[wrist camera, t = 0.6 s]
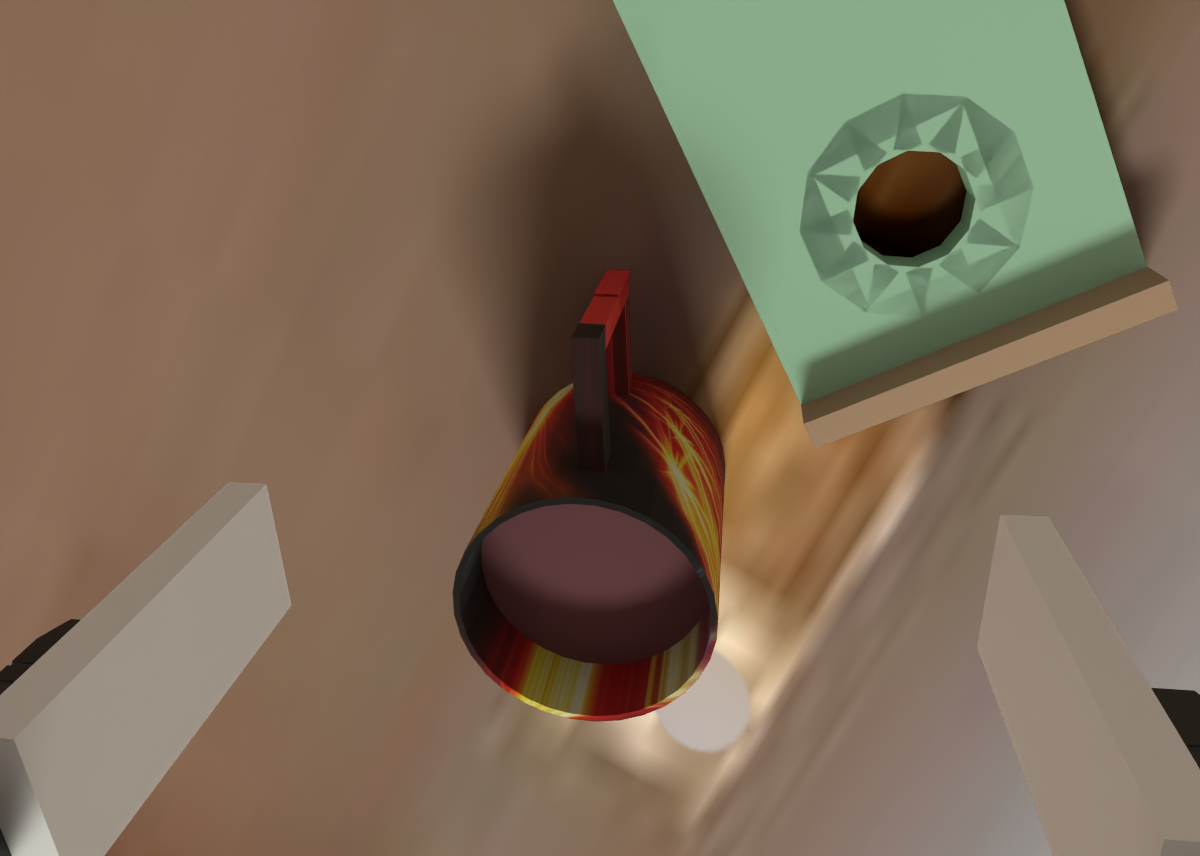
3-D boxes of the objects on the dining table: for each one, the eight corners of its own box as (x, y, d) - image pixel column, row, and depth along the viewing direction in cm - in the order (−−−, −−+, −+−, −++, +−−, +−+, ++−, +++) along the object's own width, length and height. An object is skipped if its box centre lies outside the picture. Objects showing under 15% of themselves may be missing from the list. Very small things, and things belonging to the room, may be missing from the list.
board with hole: (503, -247, 33) (476, -276, 29) (886, -518, 28) (904, -587, 25) (809, 413, 41) (815, 448, 38) (1139, 283, 37) (1177, 309, 33)
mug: (627, 254, 39) (583, 345, 29) (759, 513, 44) (763, 677, 33) (443, 344, 42) (339, 457, 31) (582, 578, 46) (533, 749, 36)
